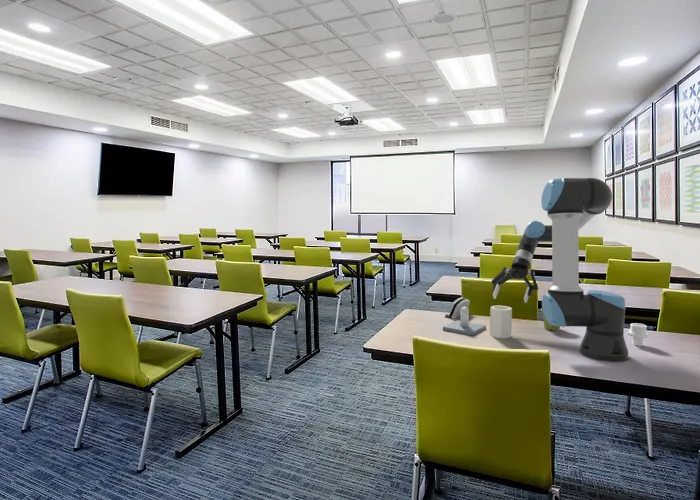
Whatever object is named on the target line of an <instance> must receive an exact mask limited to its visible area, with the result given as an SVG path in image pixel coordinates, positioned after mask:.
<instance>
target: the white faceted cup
mask: <svg viewBox="0 0 700 500" xmlns="http://www.w3.org/2000/svg"><path fill="white" fill-rule="evenodd" d="M489 315H490V316H489V336H491V337H493V338H497V339H509V338H511V337H512V328H513V327H512V326H513V325H512V323H513V321H512V319H513V308H512V307H511V306H507V305H492V306H490V310H489Z"/></svg>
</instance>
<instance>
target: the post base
mask: <svg viewBox="0 0 700 500" xmlns="http://www.w3.org/2000/svg"><path fill="white" fill-rule="evenodd" d="M469 311H470V310H469V307H468V308H467V307H462V308H461V315H460V320H458V319H457V320H455V321H453V322H450V323H449V324H446V325H444V326H442V330H443V331H446V332H452V333H456V334H461V335H467V336H471V337H472V336H475V335H477V334H478V333H481V332H482V331H484V330H486V329H487V325H486V324H481V323H475V322H469V315H470V313H469Z"/></svg>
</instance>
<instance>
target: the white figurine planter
mask: <svg viewBox="0 0 700 500" xmlns="http://www.w3.org/2000/svg"><path fill="white" fill-rule="evenodd" d="M629 328H630V329H629V330H628V332H627V335H628V336H630V337H632V345H633V344H634V345H633V346H635V345H638V346H637V347H642V346H643V344H644V339H648V337H649V333H648V332H647V328H648V327H647V325H646V324H644V323H637V322H635V323H633V322H632V323H630V327H629ZM641 345H642V346H641Z"/></svg>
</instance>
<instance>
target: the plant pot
mask: <svg viewBox="0 0 700 500" xmlns="http://www.w3.org/2000/svg"><path fill="white" fill-rule="evenodd" d="M540 311H541V313H542V318H543V327H544V329H545V330H548V331H549V330H550V331H551V330H552V331H553V332H554V331H559V330H560V329H561V326H553V325H551V324H549V323H548V321H547V320H546V318H545V316H544V313H543V308H542V307H541V308H540Z"/></svg>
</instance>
